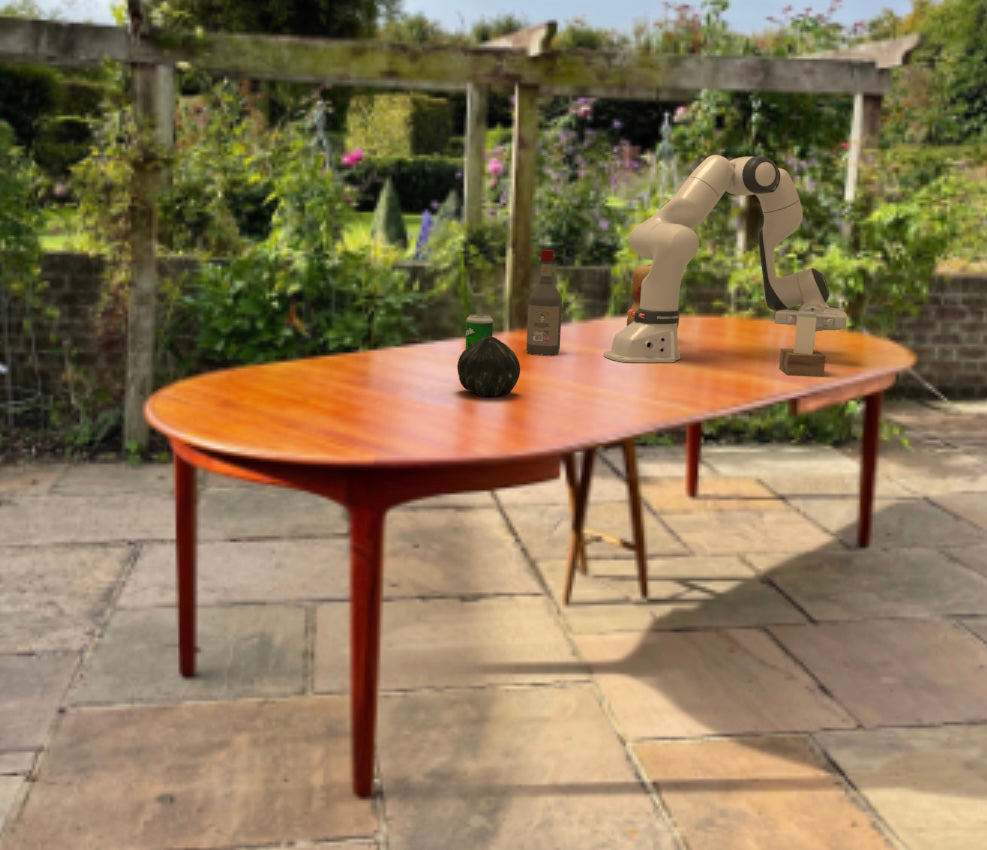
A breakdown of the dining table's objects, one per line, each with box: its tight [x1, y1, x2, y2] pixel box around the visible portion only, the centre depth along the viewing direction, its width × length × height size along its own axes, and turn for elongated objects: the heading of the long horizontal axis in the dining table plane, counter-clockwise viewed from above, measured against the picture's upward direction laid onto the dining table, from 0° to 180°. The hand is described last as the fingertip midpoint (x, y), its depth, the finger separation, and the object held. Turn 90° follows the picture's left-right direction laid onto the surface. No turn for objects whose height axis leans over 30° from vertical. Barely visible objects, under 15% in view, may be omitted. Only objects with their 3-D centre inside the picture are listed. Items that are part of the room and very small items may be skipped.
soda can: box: [465, 313, 494, 350], centre depth 309 cm, size 8×8×12 cm
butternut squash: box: [626, 262, 652, 327], centre depth 346 cm, size 14×13×25 cm
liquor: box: [525, 249, 563, 356], centre depth 319 cm, size 9×9×30 cm
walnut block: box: [778, 348, 826, 378], centre depth 303 cm, size 10×10×6 cm
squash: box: [457, 336, 521, 398], centre depth 260 cm, size 14×15×15 cm
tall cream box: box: [793, 310, 817, 354], centre depth 301 cm, size 5×5×11 cm
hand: (808, 322), depth 312 cm, fingers open, 8 cm apart
